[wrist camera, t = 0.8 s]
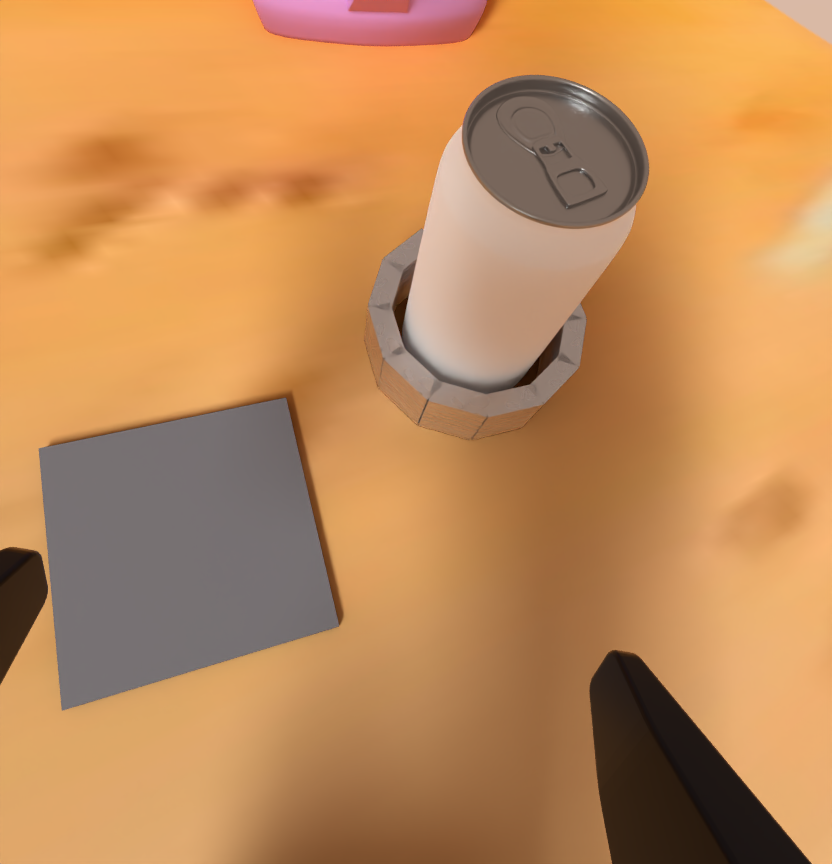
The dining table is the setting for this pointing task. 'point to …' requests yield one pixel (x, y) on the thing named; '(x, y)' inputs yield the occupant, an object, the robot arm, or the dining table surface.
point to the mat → (179, 548)
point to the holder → (444, 401)
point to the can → (520, 227)
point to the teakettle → (372, 20)
